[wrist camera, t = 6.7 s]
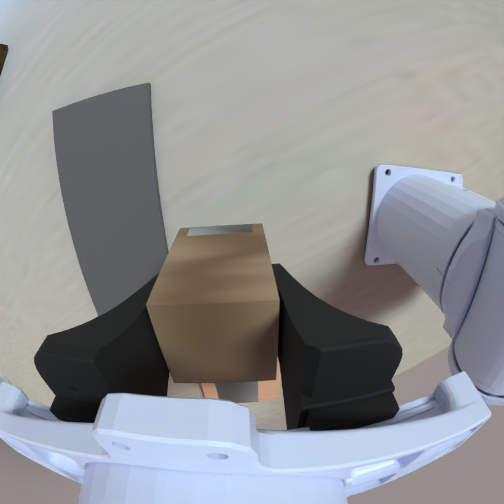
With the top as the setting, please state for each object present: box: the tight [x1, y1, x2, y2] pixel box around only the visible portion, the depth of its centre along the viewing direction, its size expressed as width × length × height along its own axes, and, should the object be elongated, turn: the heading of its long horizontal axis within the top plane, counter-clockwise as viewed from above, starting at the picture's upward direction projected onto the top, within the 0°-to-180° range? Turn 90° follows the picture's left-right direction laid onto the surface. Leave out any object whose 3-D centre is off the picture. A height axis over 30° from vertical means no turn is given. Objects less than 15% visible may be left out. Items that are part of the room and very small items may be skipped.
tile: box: [201, 356, 281, 401], centre depth 25 cm, size 8×2×8 cm
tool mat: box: [52, 83, 168, 316], centre depth 18 cm, size 8×18×1 cm, turn 2°
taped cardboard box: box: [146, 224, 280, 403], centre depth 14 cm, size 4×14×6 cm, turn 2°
